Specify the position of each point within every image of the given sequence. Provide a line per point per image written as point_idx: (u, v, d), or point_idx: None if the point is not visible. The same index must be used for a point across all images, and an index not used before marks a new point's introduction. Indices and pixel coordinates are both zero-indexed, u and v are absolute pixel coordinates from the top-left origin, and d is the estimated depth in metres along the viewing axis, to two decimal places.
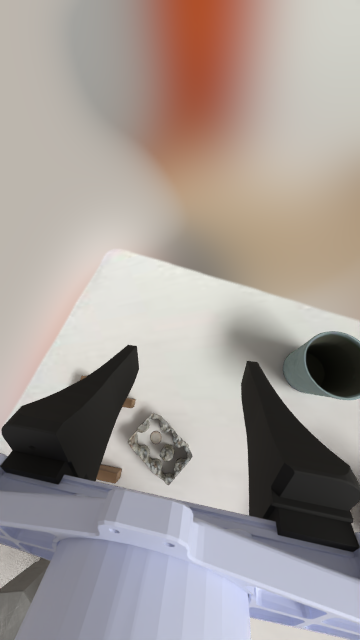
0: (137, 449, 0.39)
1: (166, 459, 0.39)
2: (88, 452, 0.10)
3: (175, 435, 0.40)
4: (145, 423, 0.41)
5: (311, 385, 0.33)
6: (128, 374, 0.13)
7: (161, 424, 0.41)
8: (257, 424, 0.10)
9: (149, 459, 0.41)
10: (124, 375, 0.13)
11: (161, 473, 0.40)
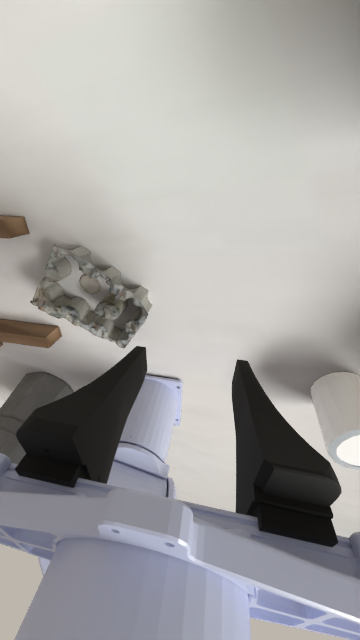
0: (55, 310, 0.22)
1: (108, 318, 0.22)
2: (101, 455, 0.10)
3: (111, 282, 0.20)
4: (51, 266, 0.20)
5: None
6: (137, 375, 0.13)
7: (80, 265, 0.20)
8: (244, 422, 0.10)
9: (90, 315, 0.25)
10: (134, 376, 0.13)
11: (113, 332, 0.25)
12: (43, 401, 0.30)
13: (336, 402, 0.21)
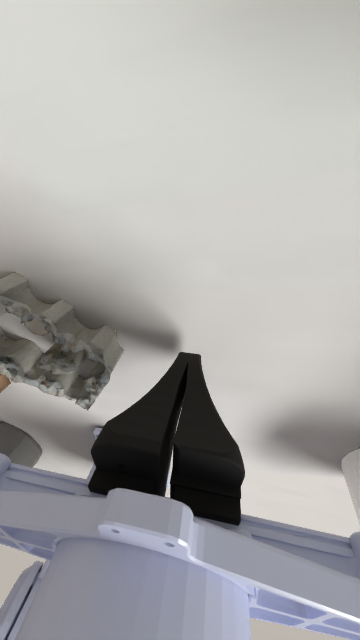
0: None
1: (60, 373, 0.16)
2: (165, 468, 0.09)
3: (52, 328, 0.13)
4: None
5: None
6: (184, 383, 0.13)
7: None
8: None
9: None
10: (183, 384, 0.12)
11: (76, 384, 0.18)
12: None
13: None
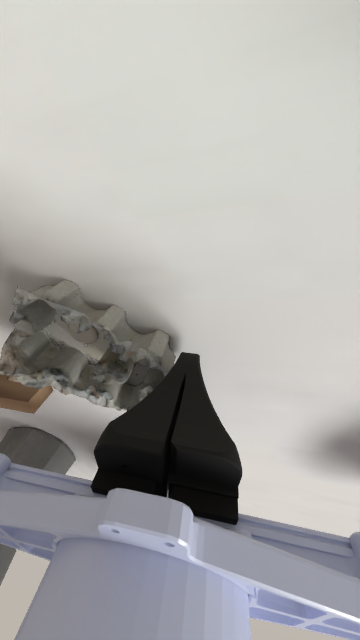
0: (33, 378, 0.15)
1: (113, 384, 0.15)
2: (167, 468, 0.09)
3: (111, 336, 0.12)
4: (19, 317, 0.13)
5: None
6: None
7: None
8: None
9: (88, 373, 0.17)
10: (185, 384, 0.12)
11: (122, 393, 0.18)
12: None
13: None
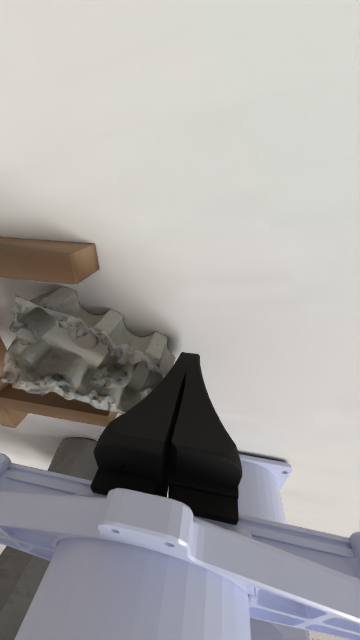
0: (36, 385, 0.15)
1: (114, 387, 0.15)
2: (167, 468, 0.09)
3: (108, 340, 0.12)
4: (19, 325, 0.14)
5: None
6: None
7: None
8: None
9: (90, 377, 0.18)
10: (185, 384, 0.12)
11: (125, 397, 0.18)
12: None
13: None
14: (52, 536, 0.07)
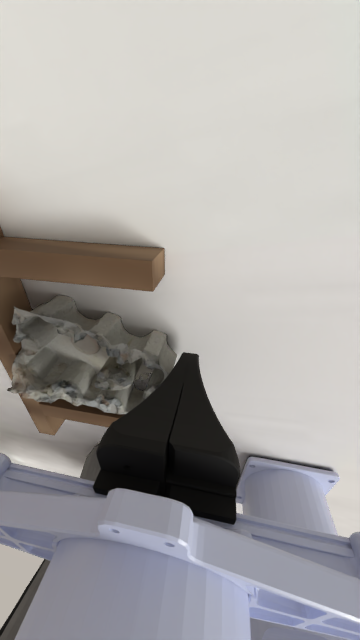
0: (44, 393, 0.15)
1: (118, 389, 0.15)
2: None
3: (105, 341, 0.13)
4: (21, 336, 0.14)
5: None
6: None
7: None
8: None
9: None
10: None
11: (132, 399, 0.18)
12: None
13: None
14: (52, 536, 0.07)
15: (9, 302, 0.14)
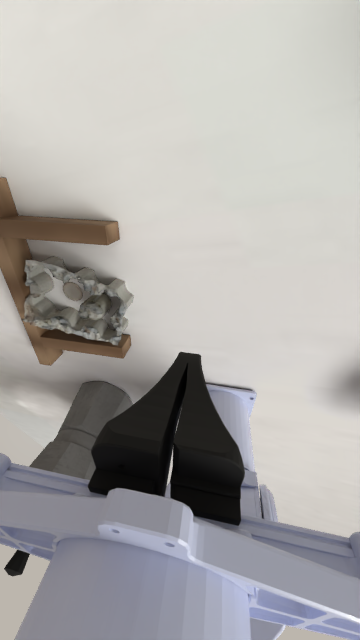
0: (45, 323, 0.23)
1: (94, 318, 0.23)
2: (165, 468, 0.09)
3: (82, 280, 0.20)
4: (30, 282, 0.22)
5: None
6: (184, 383, 0.13)
7: (51, 272, 0.21)
8: None
9: (82, 322, 0.26)
10: (183, 384, 0.12)
11: (107, 332, 0.25)
12: (107, 412, 0.29)
13: None
14: (52, 536, 0.07)
15: (20, 259, 0.22)
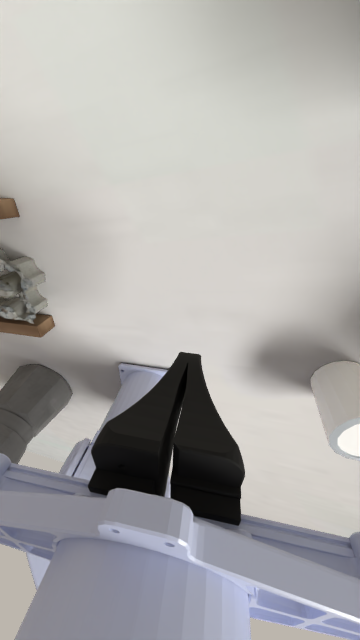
0: None
1: (5, 296, 0.23)
2: (165, 468, 0.09)
3: None
4: None
5: None
6: (184, 383, 0.13)
7: None
8: None
9: (4, 303, 0.26)
10: (183, 384, 0.12)
11: (28, 312, 0.26)
12: (36, 393, 0.29)
13: (337, 391, 0.20)
14: (52, 536, 0.07)
15: None
